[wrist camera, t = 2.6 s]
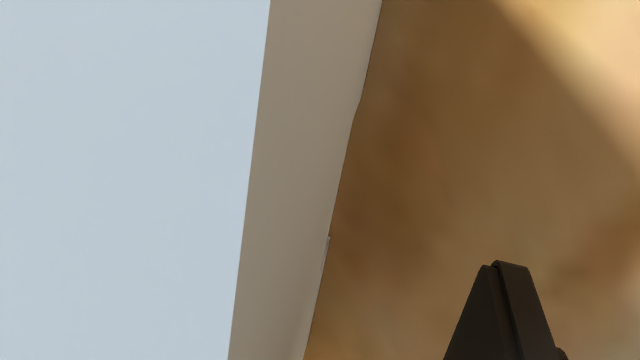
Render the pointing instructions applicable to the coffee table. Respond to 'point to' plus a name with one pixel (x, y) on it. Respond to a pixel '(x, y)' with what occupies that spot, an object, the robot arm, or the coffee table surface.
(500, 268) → the robot arm
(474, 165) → the coffee table surface
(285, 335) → the blue grey notched plate
